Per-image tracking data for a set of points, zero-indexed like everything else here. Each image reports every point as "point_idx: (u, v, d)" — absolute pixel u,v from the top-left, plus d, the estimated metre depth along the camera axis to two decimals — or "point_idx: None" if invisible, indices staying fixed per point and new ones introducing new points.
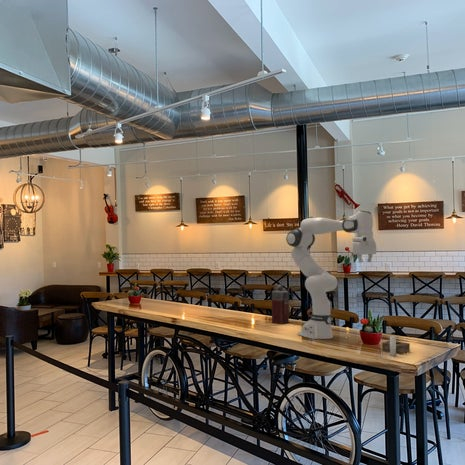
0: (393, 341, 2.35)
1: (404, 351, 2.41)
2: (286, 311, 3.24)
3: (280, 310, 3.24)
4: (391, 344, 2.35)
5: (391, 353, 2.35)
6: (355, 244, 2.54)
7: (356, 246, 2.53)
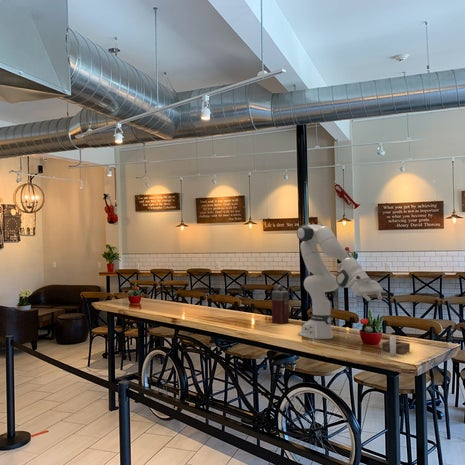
0: (393, 341, 2.35)
1: (404, 351, 2.41)
2: (286, 311, 3.24)
3: (280, 310, 3.24)
4: (391, 344, 2.35)
5: (391, 353, 2.35)
6: (352, 287, 2.48)
7: (354, 287, 2.47)
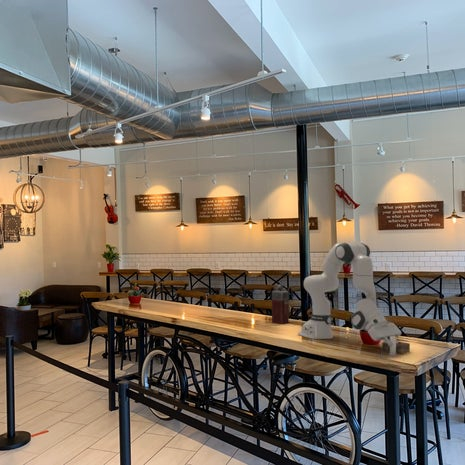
0: (393, 341, 2.35)
1: (404, 351, 2.41)
2: (286, 311, 3.24)
3: (280, 310, 3.24)
4: None
5: (391, 353, 2.35)
6: (370, 331, 2.37)
7: (372, 331, 2.36)
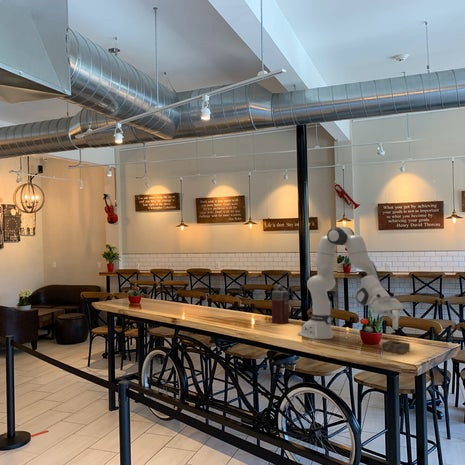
0: (395, 315, 2.44)
1: (404, 351, 2.41)
2: (286, 311, 3.24)
3: (280, 310, 3.24)
4: (394, 318, 2.44)
5: (394, 326, 2.44)
6: (373, 305, 2.46)
7: (375, 305, 2.45)
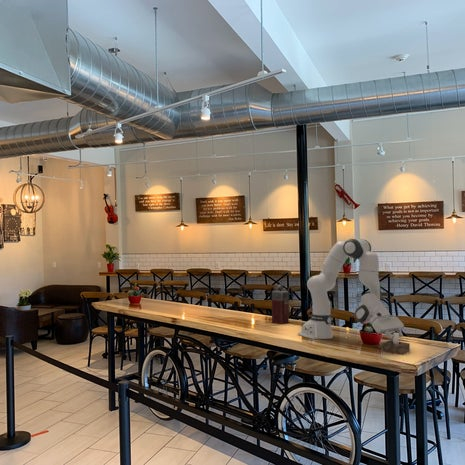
0: (396, 337, 2.44)
1: (404, 351, 2.41)
2: (286, 311, 3.24)
3: (280, 310, 3.24)
4: (394, 340, 2.45)
5: None
6: (373, 324, 2.46)
7: (376, 324, 2.45)
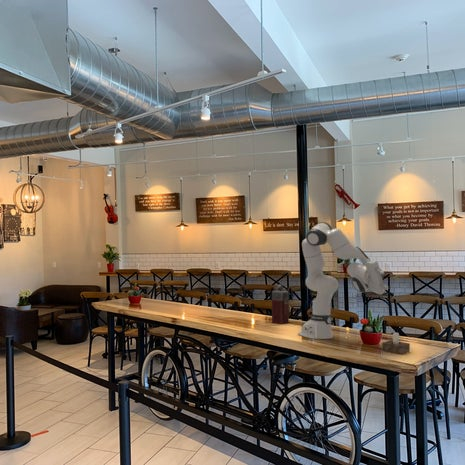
0: (396, 337, 2.44)
1: (404, 351, 2.41)
2: (286, 311, 3.24)
3: (280, 310, 3.24)
4: (394, 340, 2.45)
5: None
6: None
7: None
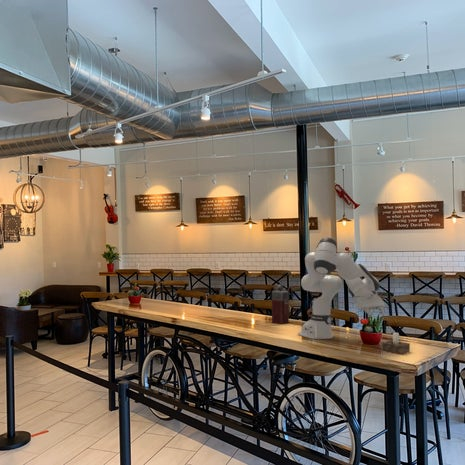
0: (396, 337, 2.44)
1: (404, 351, 2.41)
2: (286, 311, 3.24)
3: (280, 310, 3.24)
4: (394, 340, 2.45)
5: None
6: None
7: None
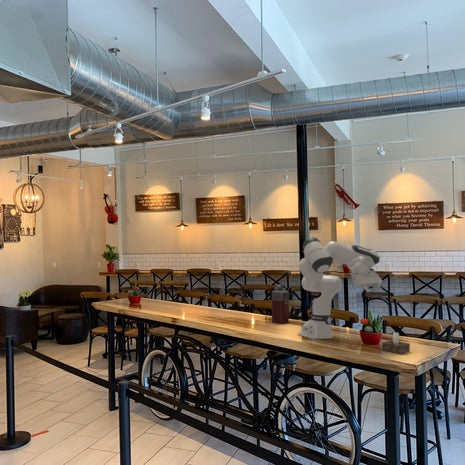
0: (396, 337, 2.44)
1: (404, 351, 2.41)
2: (286, 311, 3.24)
3: (280, 310, 3.24)
4: (394, 340, 2.44)
5: None
6: None
7: None
